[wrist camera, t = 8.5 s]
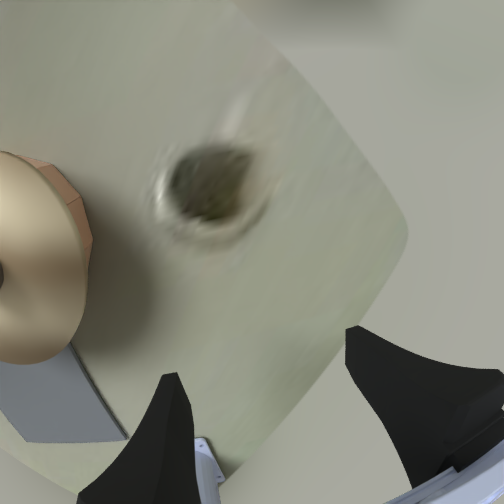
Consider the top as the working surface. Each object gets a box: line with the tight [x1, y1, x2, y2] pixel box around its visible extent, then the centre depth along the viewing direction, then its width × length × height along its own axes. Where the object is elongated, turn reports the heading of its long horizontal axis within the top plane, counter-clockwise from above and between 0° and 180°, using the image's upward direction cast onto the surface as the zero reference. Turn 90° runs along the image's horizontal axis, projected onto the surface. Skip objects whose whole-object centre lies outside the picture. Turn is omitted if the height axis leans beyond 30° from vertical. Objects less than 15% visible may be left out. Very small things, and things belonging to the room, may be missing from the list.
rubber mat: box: [0, 342, 126, 443], centre depth 22 cm, size 13×13×1 cm
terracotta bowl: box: [16, 155, 93, 271], centre depth 16 cm, size 11×11×4 cm
